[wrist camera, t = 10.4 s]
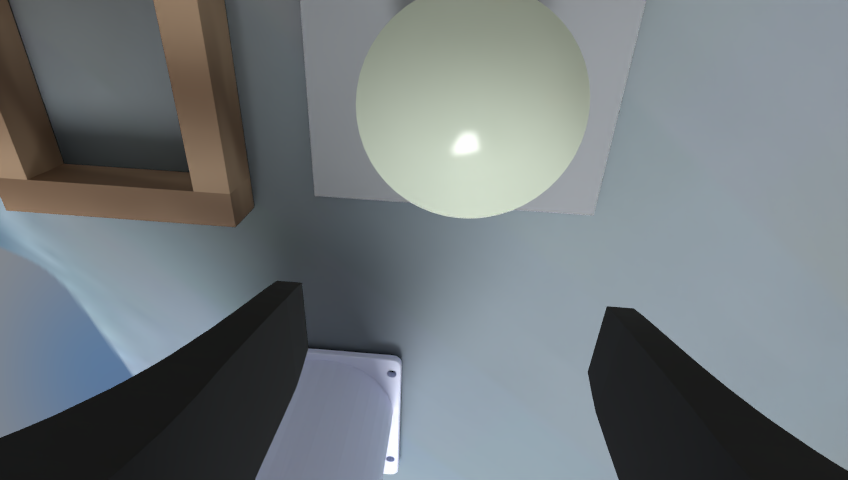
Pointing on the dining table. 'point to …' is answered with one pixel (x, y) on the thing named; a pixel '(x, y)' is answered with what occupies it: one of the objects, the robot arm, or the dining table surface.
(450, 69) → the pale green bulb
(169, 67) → the frame
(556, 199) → the mat
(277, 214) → the dining table surface
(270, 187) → the dining table surface
